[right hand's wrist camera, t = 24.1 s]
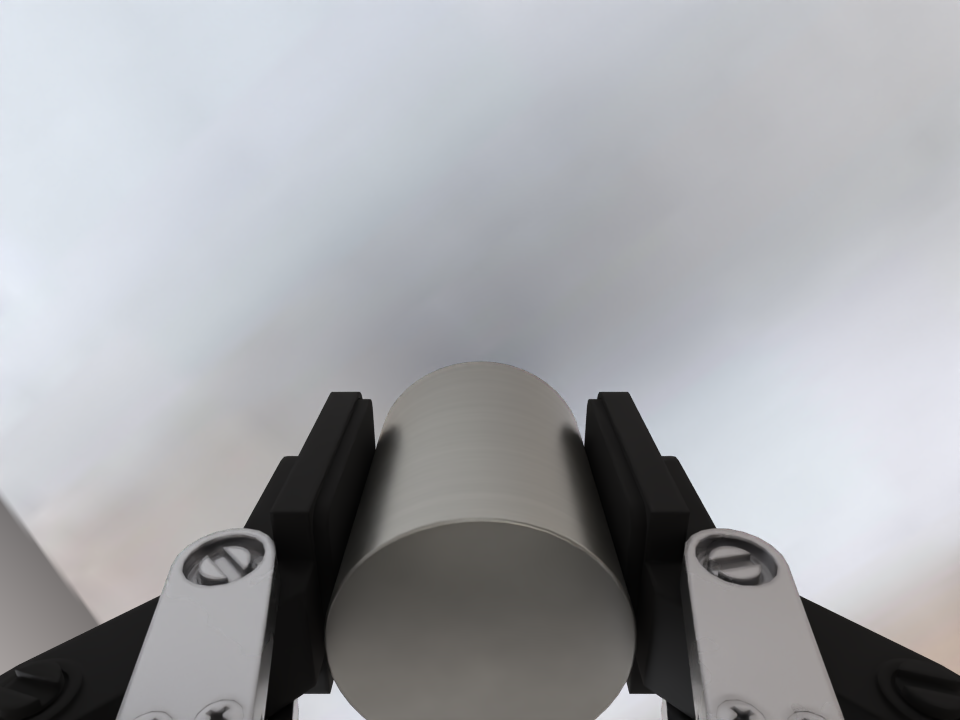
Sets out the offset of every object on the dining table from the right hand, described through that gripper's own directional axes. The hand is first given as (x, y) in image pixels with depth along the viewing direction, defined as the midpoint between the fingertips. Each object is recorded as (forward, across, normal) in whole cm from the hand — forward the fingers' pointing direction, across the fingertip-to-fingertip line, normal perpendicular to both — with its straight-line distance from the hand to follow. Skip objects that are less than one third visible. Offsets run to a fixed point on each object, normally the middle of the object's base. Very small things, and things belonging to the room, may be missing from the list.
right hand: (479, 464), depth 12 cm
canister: (+1, 0, 0) cm, 1 cm away
